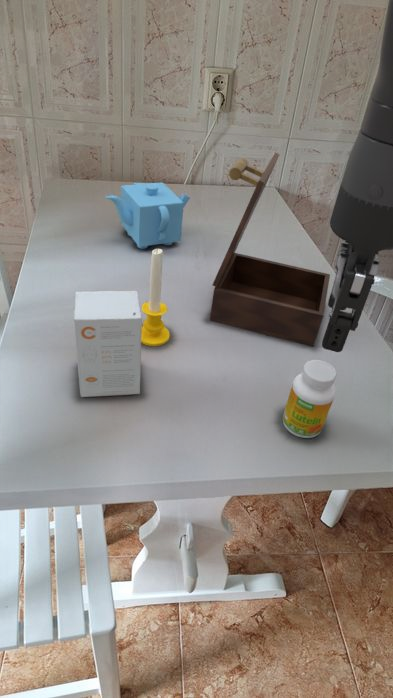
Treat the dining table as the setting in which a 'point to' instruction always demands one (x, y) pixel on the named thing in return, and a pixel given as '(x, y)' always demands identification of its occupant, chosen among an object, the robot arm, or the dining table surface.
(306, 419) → the supplement bottle
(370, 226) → the robot arm
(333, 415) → the dining table surface
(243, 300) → the chest
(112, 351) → the small box
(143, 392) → the dining table surface
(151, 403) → the dining table surface
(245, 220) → the lid
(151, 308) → the candle
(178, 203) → the teapot
